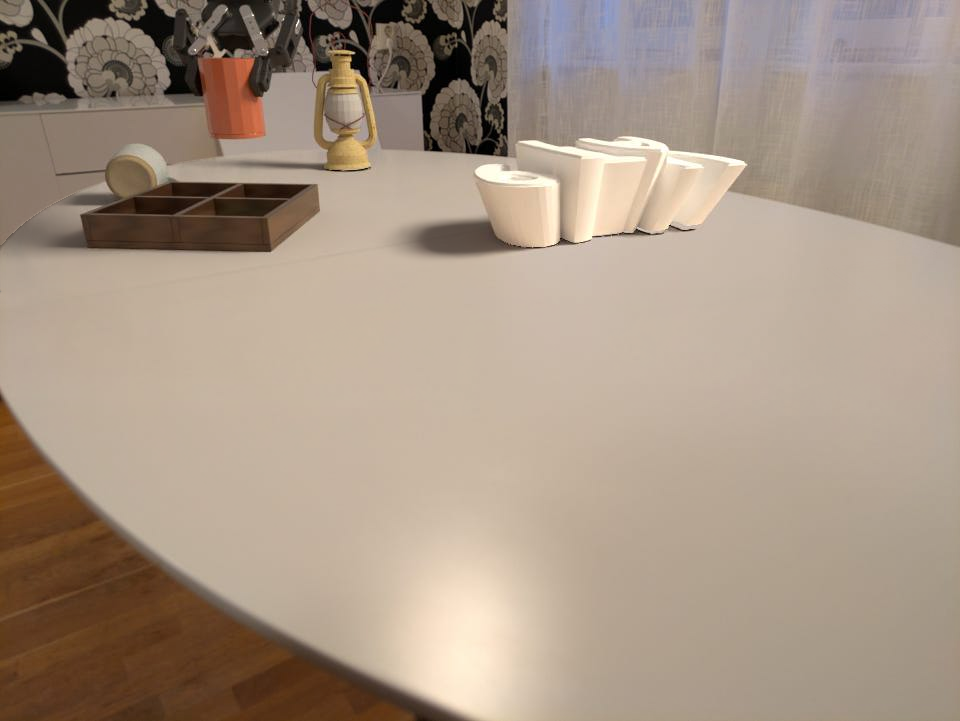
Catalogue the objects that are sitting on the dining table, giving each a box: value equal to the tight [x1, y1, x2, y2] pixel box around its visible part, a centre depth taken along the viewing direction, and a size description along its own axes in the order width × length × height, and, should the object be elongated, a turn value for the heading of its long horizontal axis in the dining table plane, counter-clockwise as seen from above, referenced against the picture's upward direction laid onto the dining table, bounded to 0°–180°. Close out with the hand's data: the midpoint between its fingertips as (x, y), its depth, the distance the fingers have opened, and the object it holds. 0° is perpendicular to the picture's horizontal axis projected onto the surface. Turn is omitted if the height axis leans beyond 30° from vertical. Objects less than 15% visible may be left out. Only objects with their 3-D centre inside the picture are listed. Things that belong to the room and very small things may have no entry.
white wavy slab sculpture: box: [472, 136, 748, 249], centre depth 85 cm, size 35×16×11 cm, turn 111°
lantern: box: [308, 0, 378, 170], centre depth 125 cm, size 12×10×30 cm
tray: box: [79, 181, 321, 252], centre depth 86 cm, size 21×21×4 cm
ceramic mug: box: [104, 143, 182, 200], centre depth 101 cm, size 11×8×8 cm
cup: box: [197, 57, 266, 140], centre depth 74 cm, size 6×6×8 cm
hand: (225, 91), depth 72 cm, fingers closed on cup, 6 cm apart
